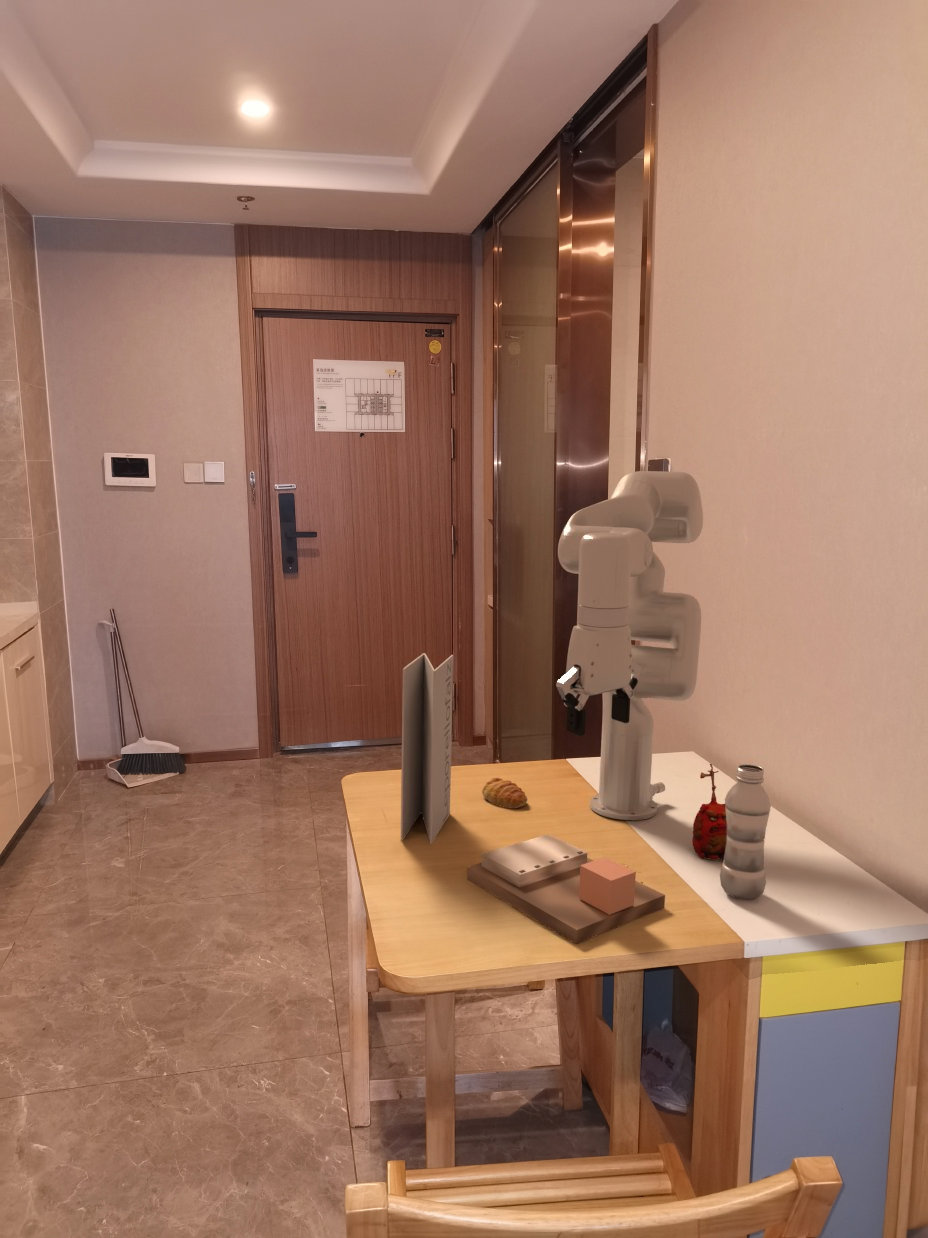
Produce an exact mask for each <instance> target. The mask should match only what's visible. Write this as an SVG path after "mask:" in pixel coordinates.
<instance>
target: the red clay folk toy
mask: <svg viewBox="0 0 928 1238" xmlns="http://www.w3.org/2000/svg"><path fill="white" fill-rule="evenodd" d="M709 765H710V768H711V769H710V770H707V772H708V773H704V772H700V777H699V778H700V779H704V778H706V777H710V780H711V791H712V793H711V797H710V802H709V803H702V804H701V806H700V808H699V810H698V811H697V813H696V815H695V817H694V820H693V824H692V838H691V839H692V840H691V843H692V844H691V845H692V849H693V850H694V852H695V854H696V855H697V857H698V858H701V859H707V860H714V861H715V860H722V861H724V855H725V848H726V842H727V821H726V809H725V803H718V801H717V796H716V793H715V791H716V788H717V786H716V785H715V774H717V773H719V770H717V771H714V767H713V764H712V763H709Z"/></svg>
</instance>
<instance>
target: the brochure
mask: <svg viewBox="0 0 928 1238" xmlns="http://www.w3.org/2000/svg"><path fill="white" fill-rule="evenodd" d="M453 678H454V654H451V655H450V656H449V657H448V658H446V659H445V660H444V661H443V662H442V663H440V664H439V665H438V667H437V666H436V668H435V669H434V666H433V665H432V663H431V661H430V659H429V657H428V656H427V653H424V652H423V653H422V654H421V655H419V656H417V657H416V658H415V659H414V660H413V661H411V662H410V663H408V664H407V665H406V666H404V668H402V705H401V709H402V710H401V715H402V717H401V719H402V723H401V777H400V778H401V781H400V782H401V787H400V789H401V791H400V792H401V794H400V841H403V840H404V839H405V838H406V836H407V834H408V833H409V831H410V830H411V829H412V827H413V826H414V824H415V822H416V821H417V820H418V819H419V817H420V816H422V819H423V822H424V828H425V830H426V833H427V837H428V841H429V844H433V842H434V841H435V839H436V838H437V836H438V835H439V832H441V829H442V828H443V826H444V825H445V823H446V821H447V819H448V818H449V816H450V814H451V784H452V783H451V775H452V771H451V770H452V738H453V737H452V732H453V730H452V729H453V728H452V727H453V687H454V686H453V684H454V679H453Z"/></svg>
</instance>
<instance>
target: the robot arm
mask: <svg viewBox="0 0 928 1238" xmlns="http://www.w3.org/2000/svg"><path fill="white" fill-rule="evenodd" d="M703 525H704V512H703V504H702V497H701V491H700V488H699V485H698V482H697V481H696V479H695V478H694V477H693V476H692V475H691V474H690V473H687V472H685V471H659V470H658V471H657V470H656V471H654V470H653V471H652V470H648V471H647V470H637V471H633V472H630V473H628V474H625V475H624V476H623V477H622V478H621V479H620V480H619V481H618V483H617V485H616V486H615V489H614V490H613V492H612V494H611V496H610V498H608V499H606V500H603V501H600V502H597V503H595V504H591V505H589V506H587V507H584V508H581V509H580V510H577V511H576V512H575V513H573V514H572V515H571V516H570V518H569V519H568V521H567V523H566V524H565V525H564V527H563V530H562V532H561V533H560V536H559V537H560V538H559V541H558V545H557V546H558V547H557V558H558V561H559V564H560V566H561V567H562V568H563V569H564V570H565V571H566V572H568V573H571V574H577V575H578V583H577V584H578V588H577V590H578V591H577V616H576V617H577V618H576V625H574V626H573V628H572V630H571V633H570V639H569V644H568V650H567V651H568V652H567V657H566V658H567V659H566V669H565V674H564V675H562V676H561V678H560V679H558V680H557V681H556V683H555V686H556V689H557V692H558V693H559V698H560V700H561V701H562V702H563V705H564V706H565V707H567V714H566V717H567V718H566V731H567V732H569V733H571V734H574V735H576V736H580V737H583V736H585V734H586V716H587V715H586V714H587V711H586V709H584V707H585V705H586V702H587V701H588V699H589V697H590V696H595V695H600V694H602V719H601V720H602V722H601V723H602V725H601V742H600V743H601V744H600V746H601V747H600V767H599V783H598V784H599V788H598V793H597V794H595V795H594V796H592V797H591V798H590V801H589V803H590V804H589V806H590V809H591V810H593V812H595V813H596V814H598V815H600V816H603V817H605V818H610V819H614V820H620V821H640V820H641V821H642V820H646V819H650V818H652V817H654V816H655V815H657V814H658V804H657V802H656V801H655V800H654V799H653V797H655V795H656V794H661V793H664V792H665V791H666V786H665V784H664V783H663V782H662V781H661V782H660V781H659V782H655V783H651V779H652V766H653V765H652V763H653V762H652V761H653V749H654V748H653V747H654V746H653V744H654V728H655V725H654V724H655V723H654V718H653V714H652V713H651V711H650V708H648V706H647V705H646V703H645V702H644V700H643V699H655V700H662V701H663V700H664V701H666V700H667V701H676V702H678V701H679V702H681V701H682V702H683V701H687V700H689V699H690V698H692V697H693V694H694V692H695V689H696V683H697V676H698V668H699V667H698V666H699V655H700V642H701V634H702V633H701V632H702V609H701V605H700V602H699V600H698V599H697V598H696V597H695V596H694V595H691V594H687V593H683V592H682V593H681V592H667V591H664V585H665V577H666V569H665V566H664V564H663V562H662V560H660V558H659V556H658V555H657V554H656V552H655V551H654V547H653V546H654V545H653V543H666V544H667V543H668V544H690V543H694V542H695V541H697V540H698V538H699V537H700V535H701V533H702V530H703ZM632 641H638V642H639V641H641V642H650V643H651V642H652V643H661V644H670V645H672V646H673V647H662V646H651V645H650V646H649V645H642V644H641V645H640V644H639V645H638V644H637V645H636V644H632ZM578 695H579V697H578ZM577 697H578V699H577Z"/></svg>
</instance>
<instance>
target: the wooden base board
mask: <svg viewBox="0 0 928 1238" xmlns="http://www.w3.org/2000/svg"><path fill="white" fill-rule="evenodd" d="M592 861H595V860H594V859H591V858H589V857H588V852H587V851H584V850H583V849H582V848H581V849H580V848H579V847H577V846H574V845H573V844H571V843H567V842H566V841H563V839H560V838H558V837H555V836H553V835H551V834H549V833H547V834H543V835H540V836H538V837H537V836H536V837H534V838H530V839H528V840H524V841H520V842H517V843H514V844H510V845H506V846H502V847H501V848H497V849H494V850H490V851H487V852H484V853H481V862H480V863H476V864H473V865H470V866H467V871H466V872H467V875H466V879H467V880H468V881H469V882H472V883H473V884H474V885H476V886H478V887H480V888H481V889H483V890H485V891H486V892H488V893H489V894H492V895H493V896H495V897H496V898H498V899H499V900H501V901H503V902H505V903H506V904H508V905H510V906H512V908H513V907H514V908H515V909H517V910H518V911H520V912H521V913H524V914H525V915H526V916H528V917H530V918H531V919H534V921H536V922H538V923H541V925H543V926H546V927H547V928H548V927H549V929H550V930H552V931H554V932H555V933H557V934H558V935H560V936H562V937H564V938H565V939H567V940H568V941H571V942H572V943H574V944H575V945H576V944H580V943H582V942H584V941H587V940H590V939H592V938H594V937H597V936H598V935H601V934H604V933H607V932H608V931H611V930H614V929H616V928H618V927H621V926H624V925H625V924H629V923H631V922H632V921H636V920H638V919H639V918H640V919H641V918H643V917H645V916H647V915H650V914H653V913H655V912H657V911H660V910H663V909H664V908H665V906H666V905H665V904H666V894H664V893H661V892H660V891H658V890H656V889H654V888H651V887H649V886H648V885H645V884H643V883H641V882H639V881H637V880H635V895H634V905H633V906H630V907H628V908H625V909H623V910H620V911H618V912H615V913H613V914H610V915H609V914H607V913H605V912H603V911H602V910H600V909H598V908H596V907H594V906H592V905H590V904H588V903H587V902H585V901H583V900H581V899H579V882H580V865H583V864H586V863H589V862H592Z"/></svg>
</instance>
